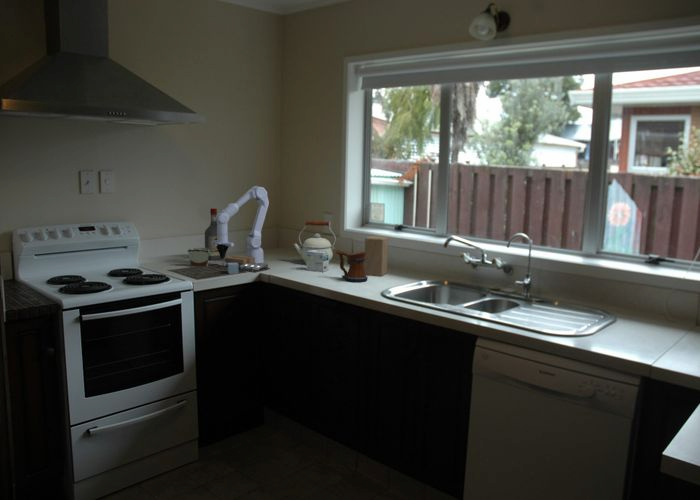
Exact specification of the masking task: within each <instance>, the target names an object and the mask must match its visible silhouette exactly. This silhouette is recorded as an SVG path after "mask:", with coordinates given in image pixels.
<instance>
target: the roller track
mask: <svg viewBox="0 0 700 500" xmlns="http://www.w3.org/2000/svg"><path fill="white" fill-rule="evenodd" d="M219 268H221V269H227V270H228V263H227V262H226V261H224V262H222V263H221V266H219ZM270 269H271V268H270V267H269V264H268V262H267V263H265V262H264V263H256V262H252V263H248V264H244V265H243V264H238V271H242V272H247V273H248V272H249V273H254V274H255V273H259V272H263V271H267V270H270Z"/></svg>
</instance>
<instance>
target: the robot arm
mask: <svg viewBox="0 0 700 500" xmlns="http://www.w3.org/2000/svg"><path fill="white" fill-rule="evenodd" d="M252 199H255V200H256V201H257V203H258V206H257V211H256V214H255V218H254V221H253V225H252V229H251V231H249V234H248V236H247V237H246V238H245V242H246V243H245V244H246V245H247V246H246V248H247V249H246V250H247V251H246V253H247V254H246V256H247V257H255V262H256V263H262V264H265V261H264V250H263V248H262V247H261V246H262V231H263V230H262V229H263V225H264V223H265V219H266V214H267V212H268V208H269V204H270V201H269V197H268V191H267V190H266V189H265V188H264V187H263V186H258V185H255V186H252V187H251V188H249V189H248V190H247V192H245V193H244V194H243V195H242V196H241V197H240V198H239V199H238V200H236V202H234V203H233V202H231V203H228V204H227V206H226V207H225V208H224V209H222V210H221V212H217V216H216V220H217V241H212V244H215V245H218V246H216V248H217V249H218V251H219V254H220V258H222V260H223V259H226V253H227V251H228V249H229V247H231V248H232V247H234V246H235V243H234V242H230V241H229V237H228V236H229V235H228V233H229V232H228V229H229V228H228V227H229V226H228V222H229V220H230V219H231V218H232V217H234V215H235V214H237V213H238V212H239V209H240V208H241V206H243V205H244V204H246V202H248V201H249V200H252Z"/></svg>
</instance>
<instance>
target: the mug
mask: <svg viewBox="0 0 700 500" xmlns="http://www.w3.org/2000/svg"><path fill="white" fill-rule="evenodd" d="M336 254H337V255H339V260H340V263H339V269H340V270H341V271H343V274H342V275H341V278H342V279H344V280H345V281H346V282H351V283H366V282H367V281H368V279H369V278H368V275H366V273H365V270H364V260H365V254H366V252H365V251H359V252H353V253H349V254H348V253H346V252H343V251H342V250H339V249H337V250H336ZM344 256H345V257H347V259H346V263H347V264H348V265H349V266H348V267H349V268H348V270H347V269H346V268H345V259H344Z"/></svg>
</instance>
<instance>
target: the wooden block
mask: <svg viewBox="0 0 700 500" xmlns="http://www.w3.org/2000/svg"><path fill="white" fill-rule="evenodd" d="M388 244H389V237H388V236H381V235H380V236H379V235H375V236H374V235H370V236H367V237H365V238H364V252H366V254H365V257H364V258H365V260H364V270H365V273H366V276H370V275H372V277H383V276H385V275H386V274H387V273H388V247H389V245H388ZM384 274H385V275H384Z"/></svg>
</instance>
